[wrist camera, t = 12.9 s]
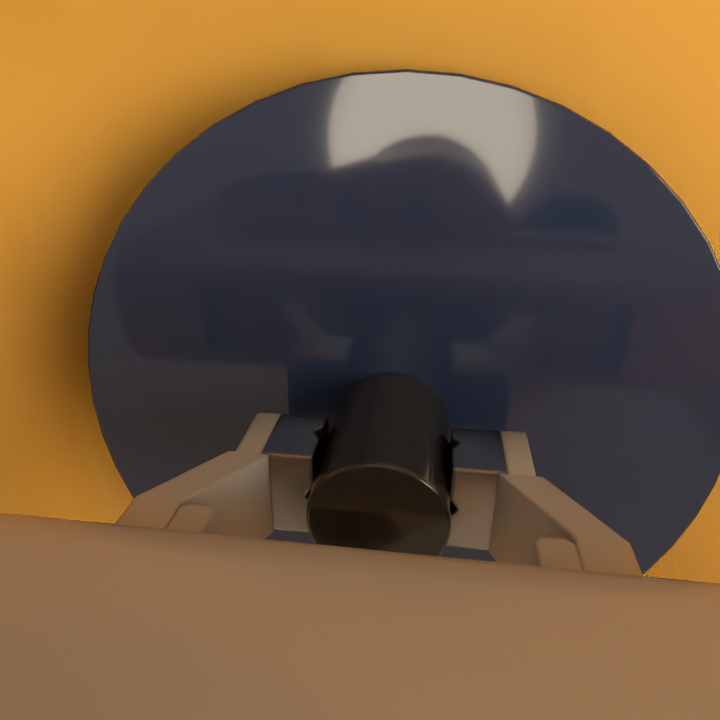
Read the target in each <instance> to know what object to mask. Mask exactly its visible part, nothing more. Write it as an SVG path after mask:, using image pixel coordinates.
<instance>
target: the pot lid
mask: <svg viewBox="0 0 720 720" xmlns="http://www.w3.org/2000/svg"><path fill="white" fill-rule="evenodd" d="M88 368H89V376H90V383H91V390H92V398H93V403H94V407H95V410H96V414H97V418H98V421H99V425H100V429H101V432H102V435H103V438H104V440H105V443H106V445H107V447H108V450H109V452H110V455H111V457H112V459H113V462H114V464H115V467H116V468H117V470H118V472H119V474H120V475H121V477H122V479H123V481H124V483H125V484H126V486H127V488H128V490H129V491H130V493H131V495H132V497H133V498H135V497H136V496H138V495H140V494H142V493H144V492H146V491H148V490H150V489H152V488H154V487H156V486H158V485H160V484H162V483H164V482H166V481H168V480H170V479H173V478H175V477H177V476H179V475H181V474H183V473H185V472H187V471H189V470H191V469H193V468H195V467H197V466H199V465H201V464H203V463H205V462H207V461H209V460H211V459H213V458H215V457H217V456H219V455H221V454H224V453H226V452H228V451H236V449H237V447H238V446H239V444H240V442H241V440H242V439H243V437H244V435H245V433H246V432H247V430H248V428H249V426H250V425H251V423H252V421H253V419H254V418H255V416H256V414H257V413H260V412H263V413H281V414H288V415H299V416H309V417H320V418H327V419H328V422H329V436H328V439H327V443H326V446H325V449H324V452H323V455H322V458H321V461H320V464H319V467H318V470H317V473H316V476H315V479H314V482H313V485H312V488H311V491H310V494H309V497H308V501H307V505H306V523H307V527H308V531H309V532H298V531H284V530H273V532H272V533H271V534H270V535H269V536H268V537H266V538H265V539H271V540H281V541H291V542H301V543H311V544H321V545H331V546H341V547H351V548H362V549H372V550H382V551H392V552H402V553H412V554H422V555H432V556H442V557H453V558H463V559H473V560H483V561H493V562H496V561H495V560H494V558H493V557H492V556H491V554H490V553H489V551H487V550H479V549H471V548H463V547H455V546H447V543H448V540H449V537H450V532H451V499H450V435H451V428H461V429H480V430H500V431H524V432H525V433H526V435H527V439H528V444H529V448H530V452H531V456H532V461H533V465H534V469H535V473H536V476H538V477H544V478H545V479H546V480H548V481H549V482H550V483H552V484H553V485H554V486H556V487H557V488H558V489H560V490H561V491H562V492H563V493H565V494H566V495H567V496H569V497H570V498H571V499H573V500H574V501H575V502H577V503H578V504H579V505H580V506H582V507H583V508H584V509H586V510H587V511H588V512H590V513H591V514H592V515H594V516H595V517H596V518H597V519H599V520H600V521H601V522H603V523H604V524H605V525H607V526H608V527H609V528H611V529H612V530H613V531H615V532H616V533H617V534H618V535H620V536H621V537H622V538H624V539H625V540H626V541H628V542H629V543H630V545H631V547H632V550H633V552H634V555H635V557H636V560H637V562H638V565H639V567H640V570H641V572H642V575H643V574H644V573H645V572H647V571H648V570H649V569H650V568H651V567H652V566H653V565H654V564H655V563H656V562H657V561H658V560H659V559H660V558H661V557H662V556H663V555H664V554H665V553H666V552H667V551H668V550H669V549H670V548H671V547H673V545H674V544H675V543H676V542H677V540H678V539H679V538H680V537H681V535H682V534H683V533H684V532H685V530H686V529H687V528H688V526H689V525H690V524H691V523H692V521H693V520H694V519H695V518H696V516H697V514H698V513H699V511H700V509H701V508H702V506H703V504H704V503H705V501H706V499H707V498H708V496H709V494H710V492H711V491H712V489H713V487H714V486H715V484H716V481H717V479H718V476H719V474H720V265H719V263H718V261H717V259H716V256H715V254H714V252H713V249H712V247H711V245H710V243H709V241H708V239H707V238H706V236H705V235H704V233H703V232H702V230H701V228H700V227H699V225H698V224H697V222H696V221H695V219H694V218H693V216H692V215H691V213H690V212H689V210H688V209H687V207H686V206H685V204H684V202H683V201H682V200H681V199H680V198H679V197H678V195H677V194H676V193H675V192H674V191H673V190H672V189H671V188H670V187H669V186H668V184H667V183H666V182H665V181H664V180H663V179H662V178H661V177H660V176H659V175H658V174H657V172H656V171H655V170H654V169H653V168H652V167H651V166H650V165H649V164H648V163H647V162H646V161H644V160H643V159H642V158H641V157H639V156H638V155H637V154H636V153H634V152H633V151H632V150H631V149H629V148H628V147H627V146H626V145H624V144H623V143H622V142H621V141H619V140H618V139H617V138H616V137H614V136H613V135H612V134H611V133H609V132H608V131H606V130H605V129H603V128H601V127H599V126H598V125H596V124H594V123H592V122H591V121H589V120H587V119H586V118H584V117H582V116H580V115H579V114H577V113H575V112H573V111H572V110H570V109H568V108H566V107H565V106H563V105H561V104H558V103H555V102H553V101H550V100H548V99H545V98H543V97H540V96H538V95H535V94H532V93H530V92H527V91H525V90H522V89H520V88H517V87H515V86H512V85H507V84H503V83H499V82H494V81H490V80H486V79H481V78H477V77H473V76H468V75H464V74H460V73H447V72H435V71H423V70H411V69H400V70H385V71H369V72H353V73H348V74H344V75H339V76H334V77H330V78H325V79H320V80H316V81H311V82H306V83H302V84H299V85H296V86H294V87H291V88H288V89H286V90H283V91H280V92H278V93H275V94H272V95H270V96H267V97H264V98H262V99H259V100H256V101H254V102H252V103H251V104H249V105H247V106H245V107H243V108H242V109H240V110H238V111H236V112H234V113H233V114H231V115H229V116H227V117H225V118H224V119H222V120H220V121H218V122H216V123H215V124H213V125H212V126H210V127H209V128H208V129H207V130H205V131H204V132H203V133H201V134H200V135H199V136H197V137H196V138H195V139H194V140H192V141H191V142H190V143H188V144H187V145H186V146H185V147H183V148H182V149H181V150H179V151H178V152H177V153H176V154H175V155H174V156H173V157H172V158H171V159H170V160H169V161H168V162H167V163H166V164H165V166H164V167H163V168H162V169H161V170H160V171H159V172H158V173H157V174H156V175H155V176H154V177H153V178H152V179H151V180H150V181H149V182H148V183H147V185H146V186H145V188H144V189H143V190H142V192H141V193H140V195H139V196H138V198H137V199H136V201H135V202H134V203H133V205H132V206H131V208H130V209H129V211H128V212H127V214H126V215H125V216H124V218H123V220H122V222H121V224H120V226H119V228H118V230H117V232H116V234H115V236H114V238H113V240H112V242H111V244H110V247H109V249H108V251H107V253H106V255H105V258H104V261H103V265H102V268H101V271H100V274H99V278H98V281H97V284H96V287H95V291H94V295H93V302H92V309H91V315H90V322H89V328H88Z"/></svg>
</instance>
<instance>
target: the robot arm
mask: <svg viewBox="0 0 720 720" xmlns="http://www.w3.org/2000/svg"><path fill="white" fill-rule="evenodd" d="M328 436H329V422H328V419H327V418H320V417H309V416H299V415H288V414H281V413H263V412H260V413H257V414H256V416H255V418H254V419H253V421H252V423H251V425H250V426H249V428H248V430H247V432H246V433H245V435H244V437H243V439H242V440H241V442H240V444H239V446H238V447H237V449H236V451H228V452H226V453H224V454H221V455H219V456H217V457H215V458H213V459H211V460H209V461H207V462H205V463H203V464H201V465H199V466H197V467H195V468H193V469H191V470H189V471H187V472H185V473H183V474H181V475H179V476H177V477H175V478H173V479H170V480H168V481H166V482H164V483H162V484H160V485H158V486H156V487H154V488H152V489H150V490H148V491H146V492H144V493H142V494H140V495H138V496H136V497H135V498H134V499H133V501H132V502H131V503H130V505H129V506H128V507H127V509H126V510H125V511H124V513H123V514H122V515H121V517H120V518H119V519H118V521H117V522H116V524H109V523H99V522H89V521H79V520H68V519H58V518H48V517H38V516H28V515H18V514H8V513H0V720H720V584H715V583H705V582H695V581H685V580H675V579H665V578H655V577H645V576H643V575H642V572H641V570H640V567H639V565H638V562H637V560H636V557H635V555H634V552H633V550H632V547H631V545H630V543H629V542H628V541H626V540H625V539H624V538H622V537H621V536H620V535H618V534H617V533H616V532H615V531H613V530H612V529H611V528H609V527H608V526H607V525H605V524H604V523H603V522H601V521H600V520H599V519H597V518H596V517H595V516H594V515H592V514H591V513H590V512H588V511H587V510H586V509H584V508H583V507H582V506H580V505H579V504H578V503H577V502H575V501H574V500H573V499H571V498H570V497H569V496H567V495H566V494H565V493H563V492H562V491H561V490H560V489H558V488H557V487H556V486H554V485H553V484H552V483H550V482H549V481H548V480H546V479H545V478H544V477H538V476H536V473H535V469H534V465H533V461H532V456H531V452H530V448H529V444H528V439H527V435H526V433H525V432H524V431H500V430H480V429H461V428H451V435H450V499H451V532H450V537H449V540H448V543H447V546H455V547H463V548H471V549H479V550H487V551H489V553H490V554H491V556H492V557H493V558H494V560H495V561H496V562H493V561H483V560H473V559H463V558H453V557H442V556H432V555H422V554H412V553H402V552H392V551H382V550H372V549H362V548H351V547H341V546H331V545H321V544H311V543H301V542H291V541H281V540H271V539H265V538H266V537H268V536H269V535H270V534H271V533H272V532H273V530H284V531H298V532H309V531H308V527H307V523H306V505H307V501H308V497H309V494H310V491H311V488H312V485H313V482H314V479H315V476H316V473H317V470H318V467H319V464H320V461H321V458H322V455H323V452H324V449H325V446H326V443H327V439H328Z"/></svg>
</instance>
